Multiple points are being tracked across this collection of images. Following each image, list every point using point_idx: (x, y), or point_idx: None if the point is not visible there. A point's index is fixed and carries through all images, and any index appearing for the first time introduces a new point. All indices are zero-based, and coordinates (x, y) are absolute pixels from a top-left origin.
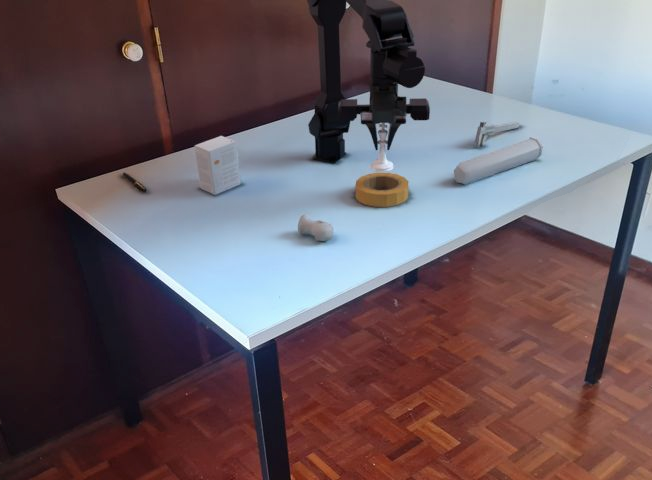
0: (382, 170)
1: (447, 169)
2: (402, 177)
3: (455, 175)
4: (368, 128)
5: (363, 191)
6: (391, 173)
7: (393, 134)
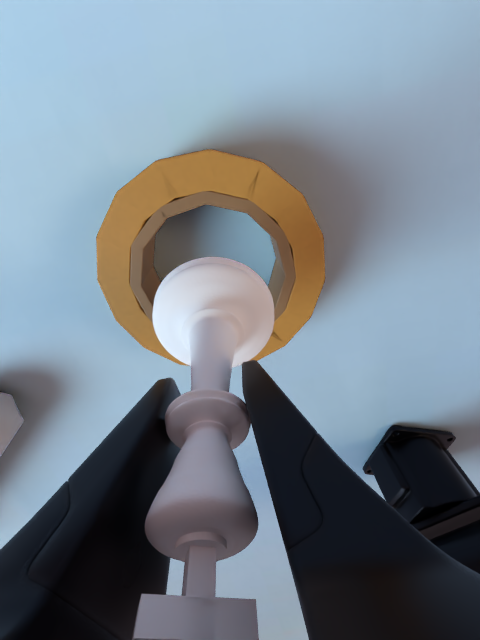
0: (195, 265)
1: (86, 454)
2: (150, 344)
3: (3, 410)
4: (424, 541)
5: (278, 175)
6: None
7: (57, 503)
